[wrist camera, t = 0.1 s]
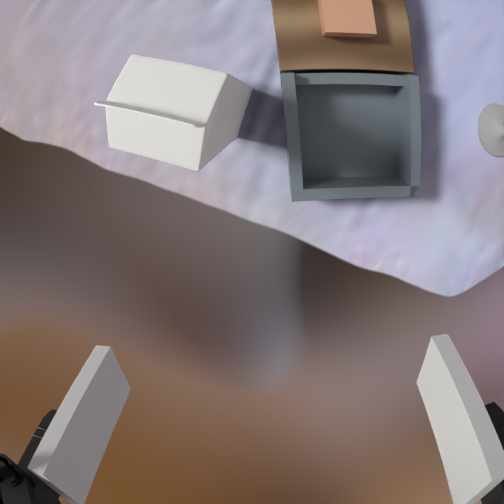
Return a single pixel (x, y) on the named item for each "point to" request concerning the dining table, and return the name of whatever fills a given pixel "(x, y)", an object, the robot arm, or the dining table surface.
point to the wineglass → (492, 129)
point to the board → (342, 41)
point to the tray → (352, 135)
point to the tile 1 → (347, 18)
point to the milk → (174, 111)
